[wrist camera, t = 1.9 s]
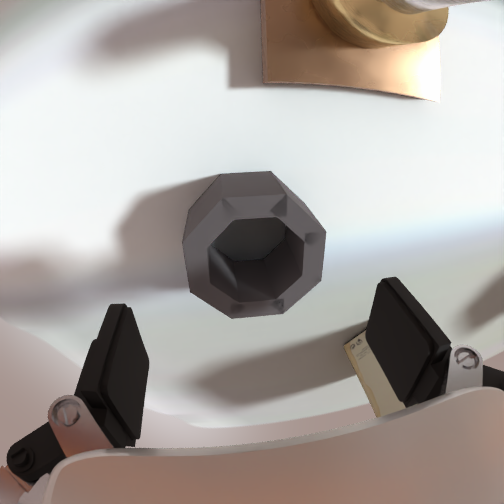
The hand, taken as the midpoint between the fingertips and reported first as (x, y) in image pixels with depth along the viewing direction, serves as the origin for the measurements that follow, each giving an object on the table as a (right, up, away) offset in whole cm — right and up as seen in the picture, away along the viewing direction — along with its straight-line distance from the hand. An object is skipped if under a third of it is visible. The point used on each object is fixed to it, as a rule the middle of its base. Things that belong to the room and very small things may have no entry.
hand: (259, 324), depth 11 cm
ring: (0, +4, +7) cm, 8 cm away
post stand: (+5, +16, +1) cm, 17 cm away
